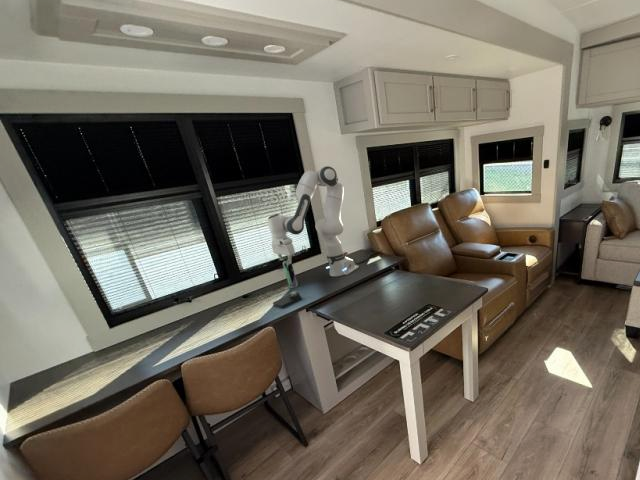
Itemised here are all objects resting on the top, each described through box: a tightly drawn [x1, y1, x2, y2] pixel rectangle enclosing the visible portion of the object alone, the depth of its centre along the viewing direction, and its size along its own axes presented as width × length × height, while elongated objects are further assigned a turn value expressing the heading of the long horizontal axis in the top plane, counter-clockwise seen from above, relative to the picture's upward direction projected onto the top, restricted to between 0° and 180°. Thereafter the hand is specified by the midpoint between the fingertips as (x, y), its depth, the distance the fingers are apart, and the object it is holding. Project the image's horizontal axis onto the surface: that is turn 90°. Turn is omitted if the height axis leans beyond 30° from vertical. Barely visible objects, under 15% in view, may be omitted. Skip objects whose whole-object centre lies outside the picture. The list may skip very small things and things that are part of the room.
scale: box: [272, 291, 302, 310], centre depth 187 cm, size 14×11×4 cm
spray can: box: [282, 257, 299, 289], centre depth 209 cm, size 6×6×20 cm
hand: (286, 260), depth 205 cm, fingers open, 8 cm apart
